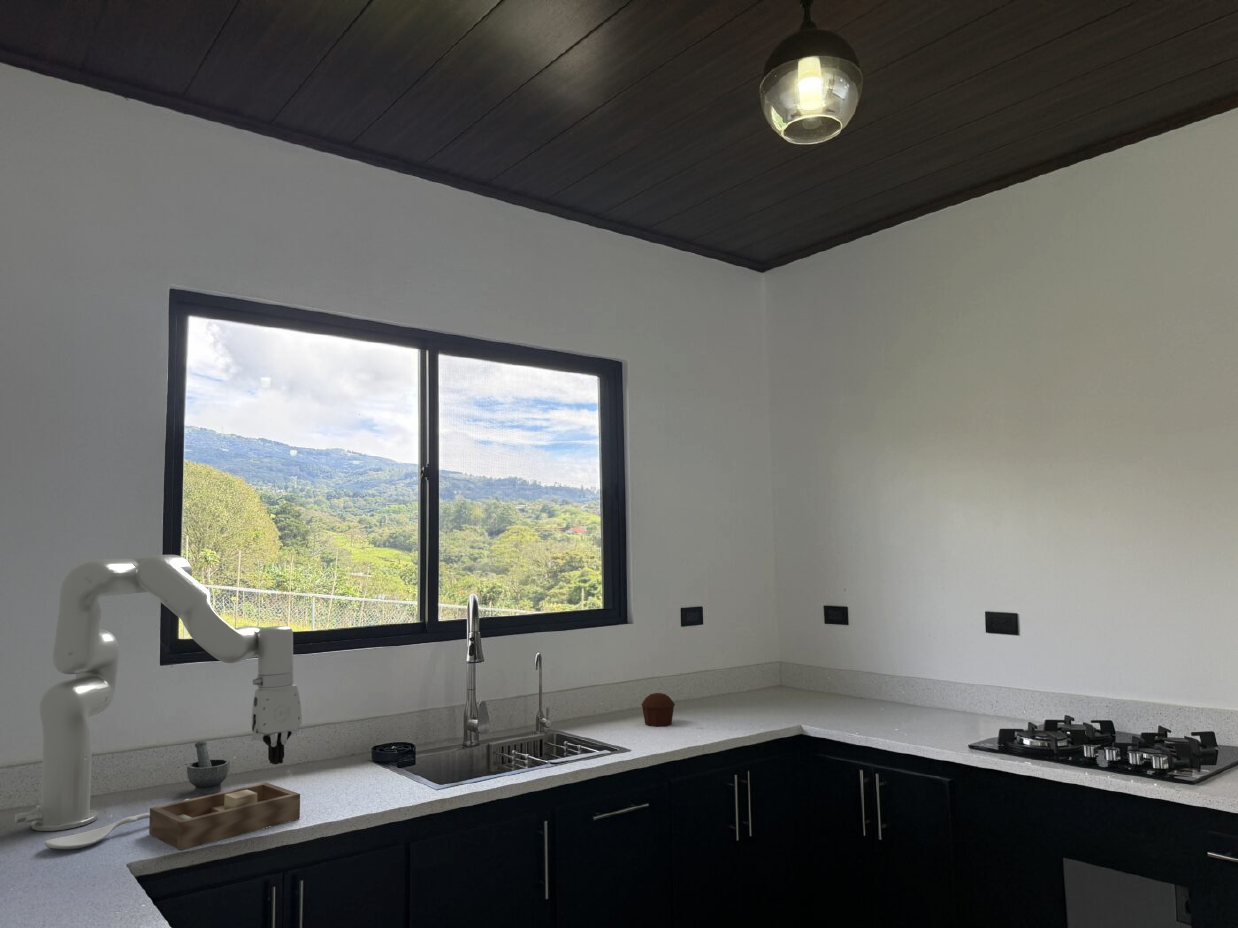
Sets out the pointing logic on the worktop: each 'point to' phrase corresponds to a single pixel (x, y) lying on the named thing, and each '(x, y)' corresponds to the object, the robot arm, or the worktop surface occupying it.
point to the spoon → (90, 835)
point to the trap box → (222, 816)
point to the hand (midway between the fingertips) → (276, 762)
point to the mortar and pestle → (207, 771)
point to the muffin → (658, 710)
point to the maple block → (239, 799)
